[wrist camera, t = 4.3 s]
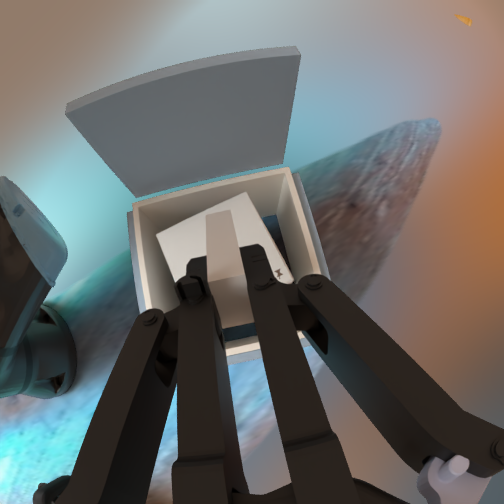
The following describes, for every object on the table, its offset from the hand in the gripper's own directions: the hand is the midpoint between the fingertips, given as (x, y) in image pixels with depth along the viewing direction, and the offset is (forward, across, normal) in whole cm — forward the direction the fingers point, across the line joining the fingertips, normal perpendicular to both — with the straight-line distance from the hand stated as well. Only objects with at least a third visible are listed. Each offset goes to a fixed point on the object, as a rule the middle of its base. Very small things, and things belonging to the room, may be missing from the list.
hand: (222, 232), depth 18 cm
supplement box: (+15, -1, -15) cm, 21 cm away
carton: (+15, -1, -15) cm, 21 cm away
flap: (+13, -1, 0) cm, 13 cm away
